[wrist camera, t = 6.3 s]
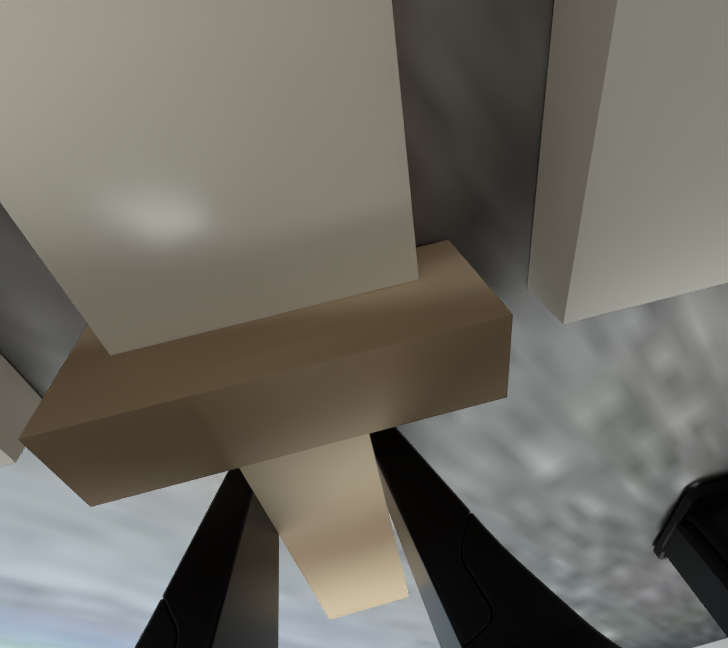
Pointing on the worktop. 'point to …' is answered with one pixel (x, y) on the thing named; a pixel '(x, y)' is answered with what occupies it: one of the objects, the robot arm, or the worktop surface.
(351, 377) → the wooden pusher
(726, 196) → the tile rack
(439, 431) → the worktop surface
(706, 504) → the robot arm
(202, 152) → the pale beige block
